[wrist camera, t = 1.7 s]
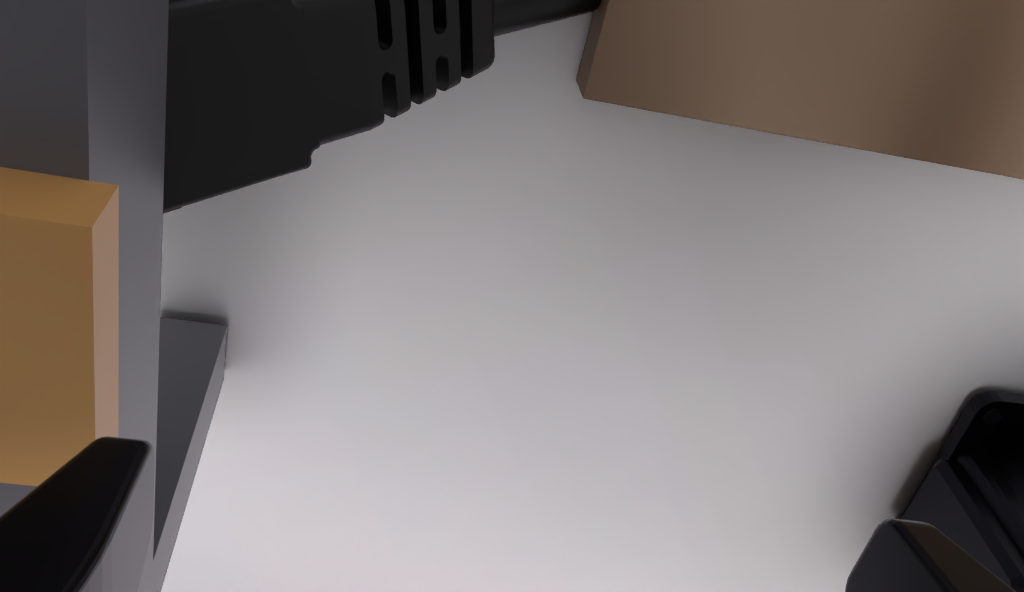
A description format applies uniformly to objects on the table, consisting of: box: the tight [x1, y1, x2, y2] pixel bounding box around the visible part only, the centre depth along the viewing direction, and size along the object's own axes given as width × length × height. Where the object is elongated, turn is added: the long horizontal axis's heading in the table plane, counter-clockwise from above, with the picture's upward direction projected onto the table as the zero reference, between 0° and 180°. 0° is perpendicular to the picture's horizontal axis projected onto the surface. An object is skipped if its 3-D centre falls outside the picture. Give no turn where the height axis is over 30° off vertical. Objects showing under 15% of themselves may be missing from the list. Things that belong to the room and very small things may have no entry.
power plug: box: [163, 0, 601, 213], centre depth 16 cm, size 6×8×12 cm
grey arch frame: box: [0, 0, 227, 592], centre depth 13 cm, size 2×16×10 cm, turn 168°
